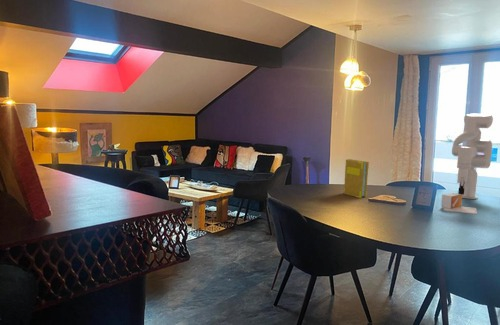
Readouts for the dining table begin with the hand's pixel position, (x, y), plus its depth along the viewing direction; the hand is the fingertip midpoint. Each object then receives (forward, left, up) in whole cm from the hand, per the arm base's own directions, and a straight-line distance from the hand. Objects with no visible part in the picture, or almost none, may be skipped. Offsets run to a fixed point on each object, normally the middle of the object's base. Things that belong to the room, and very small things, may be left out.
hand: (461, 194), depth 247 cm
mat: (+10, 0, -8) cm, 13 cm away
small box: (+1, -2, -4) cm, 4 cm away
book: (+5, -67, -9) cm, 68 cm away
